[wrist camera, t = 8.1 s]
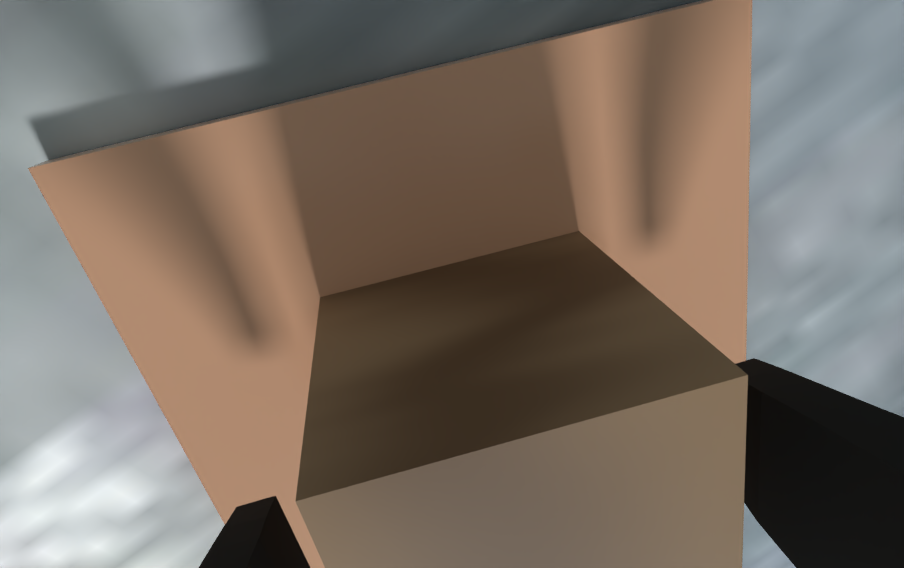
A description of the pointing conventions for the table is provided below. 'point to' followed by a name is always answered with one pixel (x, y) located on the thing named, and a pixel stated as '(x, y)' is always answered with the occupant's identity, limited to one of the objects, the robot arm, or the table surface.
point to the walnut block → (520, 421)
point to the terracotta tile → (409, 214)
